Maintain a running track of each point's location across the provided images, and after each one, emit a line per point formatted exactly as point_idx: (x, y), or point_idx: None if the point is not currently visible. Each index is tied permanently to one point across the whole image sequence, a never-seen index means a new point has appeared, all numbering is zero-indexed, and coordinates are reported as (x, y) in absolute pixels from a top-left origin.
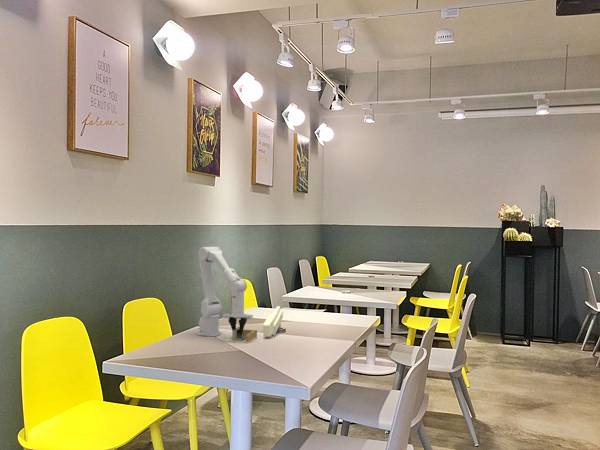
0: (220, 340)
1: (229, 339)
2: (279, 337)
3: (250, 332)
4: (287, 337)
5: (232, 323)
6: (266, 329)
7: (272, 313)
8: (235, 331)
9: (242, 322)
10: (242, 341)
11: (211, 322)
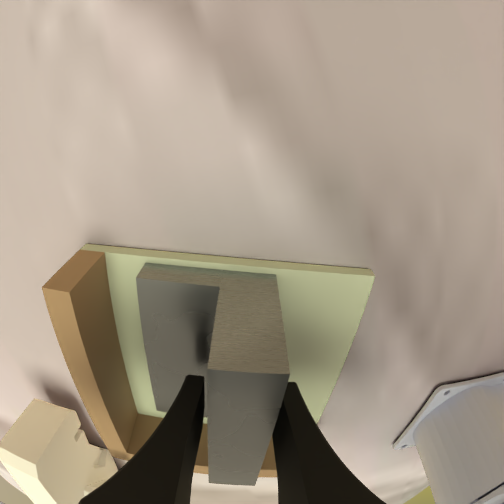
0: (407, 298)
1: (321, 312)
2: (26, 403)
3: (105, 408)
4: (2, 398)
5: (317, 496)
6: (30, 434)
7: None
8: (228, 351)
9: (99, 499)
10: (142, 256)
11: (494, 457)
